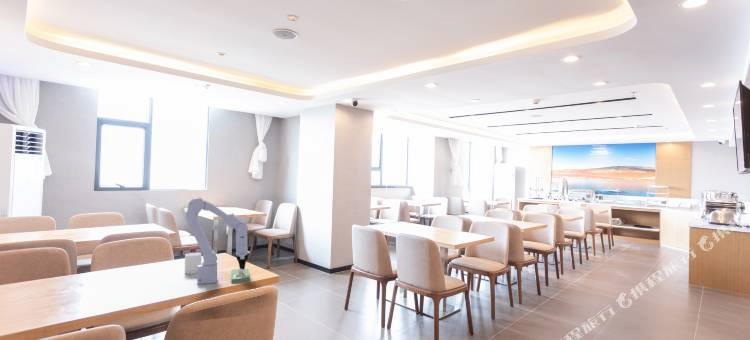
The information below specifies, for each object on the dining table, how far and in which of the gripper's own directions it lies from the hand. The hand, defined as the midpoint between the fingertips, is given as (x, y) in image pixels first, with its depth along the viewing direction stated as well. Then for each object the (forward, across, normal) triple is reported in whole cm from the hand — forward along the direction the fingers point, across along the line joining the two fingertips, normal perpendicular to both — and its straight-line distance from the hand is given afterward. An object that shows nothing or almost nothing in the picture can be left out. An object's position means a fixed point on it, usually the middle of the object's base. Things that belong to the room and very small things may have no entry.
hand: (242, 269), depth 200 cm
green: (+4, +1, +1) cm, 5 cm away
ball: (+1, +1, 0) cm, 1 cm away
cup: (+4, +20, +26) cm, 33 cm away
